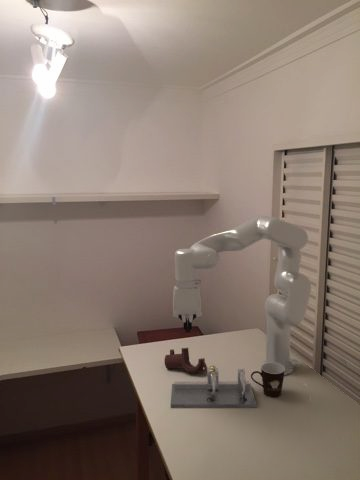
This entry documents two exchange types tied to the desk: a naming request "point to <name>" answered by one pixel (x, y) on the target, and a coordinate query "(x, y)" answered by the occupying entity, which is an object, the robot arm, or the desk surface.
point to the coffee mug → (271, 378)
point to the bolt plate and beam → (203, 397)
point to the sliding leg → (212, 379)
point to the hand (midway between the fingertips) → (187, 331)
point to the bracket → (184, 361)
